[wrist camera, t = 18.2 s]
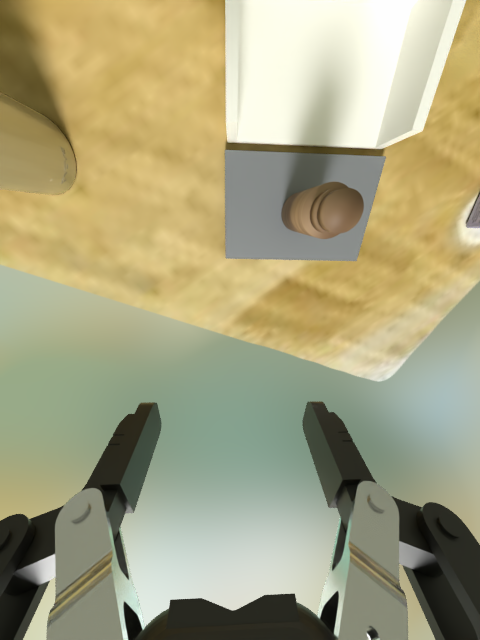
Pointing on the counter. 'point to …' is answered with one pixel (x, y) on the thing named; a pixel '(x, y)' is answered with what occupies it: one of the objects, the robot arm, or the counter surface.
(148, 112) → the counter surface
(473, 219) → the cake pan box
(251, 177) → the serving board
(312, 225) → the pepper mill
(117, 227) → the counter surface
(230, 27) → the cubby
